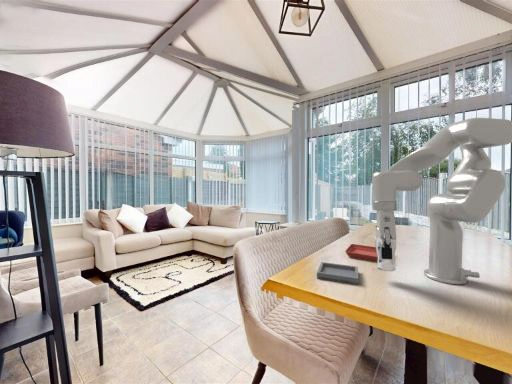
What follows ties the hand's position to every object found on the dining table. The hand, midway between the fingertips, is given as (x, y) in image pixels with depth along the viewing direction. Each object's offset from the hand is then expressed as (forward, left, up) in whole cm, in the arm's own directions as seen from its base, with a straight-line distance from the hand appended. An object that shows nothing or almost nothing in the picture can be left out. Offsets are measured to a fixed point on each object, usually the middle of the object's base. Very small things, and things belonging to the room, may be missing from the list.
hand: (385, 255), depth 83 cm
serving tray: (+16, +1, -9) cm, 19 cm away
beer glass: (0, 0, -5) cm, 5 cm away
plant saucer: (+4, -31, -10) cm, 33 cm away
